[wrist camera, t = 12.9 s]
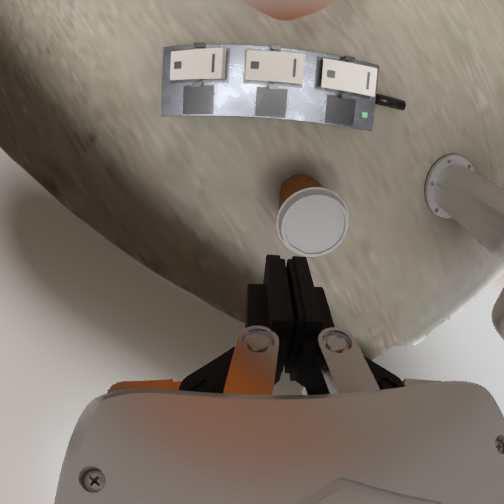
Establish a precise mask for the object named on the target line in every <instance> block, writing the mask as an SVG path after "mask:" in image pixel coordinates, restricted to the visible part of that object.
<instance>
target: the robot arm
mask: <svg viewBox="0 0 504 504" xmlns="http://www.w3.org/2000/svg"><path fill="white" fill-rule="evenodd" d="M425 197H426V201H427V204H428V206H429V208H430V209H431V211H432V212H433V213H434V214H436V215H437V216H438V217H441V218H445V219H449V218H453V219H454V220H455V221H456V222H458V223H459V224H460V225H461V226H462V227H463V228H465V229H466V230H467V231H468V232H469V233H470V234H471V235H472V236H473V237H475V238H476V239H477V240H478V241H479V242H480V243H481V244H482V245H483V246H484V247H485V248H487V249H488V250H489V251H490V252H491V253H492V254H493V255H495V256H497V257H499V258H502V259H504V189H503V188H501V187H500V186H498V185H496V184H495V183H493V182H491V181H490V180H488V179H486V178H484V177H483V176H481V175H479V174H477V173H476V172H475V171H474V168H473V166H472V164H471V163H470V162H469V161H468V160H467V159H466V158H464V157H462V156H460V155H457V154H450V155H446V156H444V157H442V158H441V159H439V160H438V161H437V162H436V163H435V164H434V165H433V167H432V169H431V170H430V172H429V175H428V177H427V181H426V186H425ZM492 322H493V324H494V327H495V329H496V331H497V332H498V333H499V335H500V336H501V337H502V338H503V340H504V288H503V290H502V292H501V293H500V296H499V297H498V299H497V301H496V303H495V305H494V307H493V311H492ZM284 366H285V373H290V380H291V381H297V382H298V383H299V384H301V385H302V386H301V392H302V395H273V388H274V385H275V384H276V383H277V382H278V381H279V380H280V376H281V373H282V371H283V367H284ZM102 472H103V473H102ZM54 504H504V417H503V415H502V413H501V411H500V409H499V407H498V405H497V403H496V401H495V400H494V398H493V396H492V395H491V394H490V392H488V391H487V389H486V388H484V387H482V386H481V385H478V384H475V383H471V382H466V381H465V382H464V381H444V382H442V381H430V380H417V379H404V380H403V381H401V380H400V379H399V378H398V377H397V376H396V375H394V374H392V373H391V372H389V371H387V370H386V369H384V368H382V367H381V366H379V365H377V364H376V363H374V362H373V361H371V360H369V359H368V358H366V357H365V356H363V354H362V352H361V350H360V348H359V346H358V344H357V342H356V341H355V339H354V337H353V336H352V335H351V334H350V333H349V332H348V331H346V330H344V329H341V328H337V327H334V323H333V320H332V316H331V313H330V310H329V306H328V303H327V299H326V296H325V293H324V290H323V288H322V287H314V285H313V281H312V277H311V274H310V270H309V266H308V263H307V259H306V257H297V256H293V257H292V259H288V260H287V266H286V265H285V260H284V259H280V256H279V255H267V256H266V264H265V273H264V282H263V284H248V287H247V300H246V321H245V329H243V330H242V331H241V332H240V333H239V335H238V338H237V342H236V345H235V347H233V348H232V349H230V350H229V351H227V352H226V353H224V354H222V355H221V356H219V357H218V358H216V359H214V360H213V361H212V362H210V363H208V364H207V365H205V366H203V367H202V368H200V369H199V370H197V371H195V372H194V373H192V374H191V375H189V376H187V377H186V378H185V379H184V380H183V381H177V382H173V379H169V380H150V381H123V382H118V383H116V384H114V385H112V386H111V388H110V389H109V390H108V393H107V394H104V395H101V396H99V397H97V398H95V399H94V400H92V401H91V402H90V403H89V404H88V405H87V406H86V408H85V409H84V411H83V412H82V414H81V416H80V417H79V420H78V422H77V424H76V426H75V429H74V431H73V434H72V436H71V439H70V441H69V445H68V448H67V451H66V455H65V458H64V461H63V465H62V469H61V473H60V477H59V482H58V487H57V492H56V497H55V503H54Z"/></svg>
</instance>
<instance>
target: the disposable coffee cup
mask: <svg viewBox="0 0 504 504" xmlns="http://www.w3.org/2000/svg"><path fill="white" fill-rule="evenodd" d="M348 225H349V212H348V209H347V206H346V204H345V202H344V201H343V199H342V198H341V197H340V196H339V195H337V194H336V193H335V192H333V191H331V190H329V189H325V188H324V187H323V186H321V185H320V184H318V183H317V182H316V181H314V180H313V179H312V178H310V177H308V176H305V175H296V176H293V177H291V178H289V179H288V180H287V181H286V182H285V183H284V184H283V186H282V188H281V191H280V209H279V212H278V215H277V220H276V228H277V233H278V235H279V238H280V240H281V241H282V242H283V244H284V245H285V246H286V247H287V248H289V249H290V250H292V251H294V252H295V253H297V254H299V255H302V256H306V257H318V256H321V255H325V254H327V253H329V252H331V251H333V250H334V249H335V248H337V247H338V246H339V245H340V244H341V242H342V241H343V240H344V238H345V236H346V234H347V230H348Z"/></svg>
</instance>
